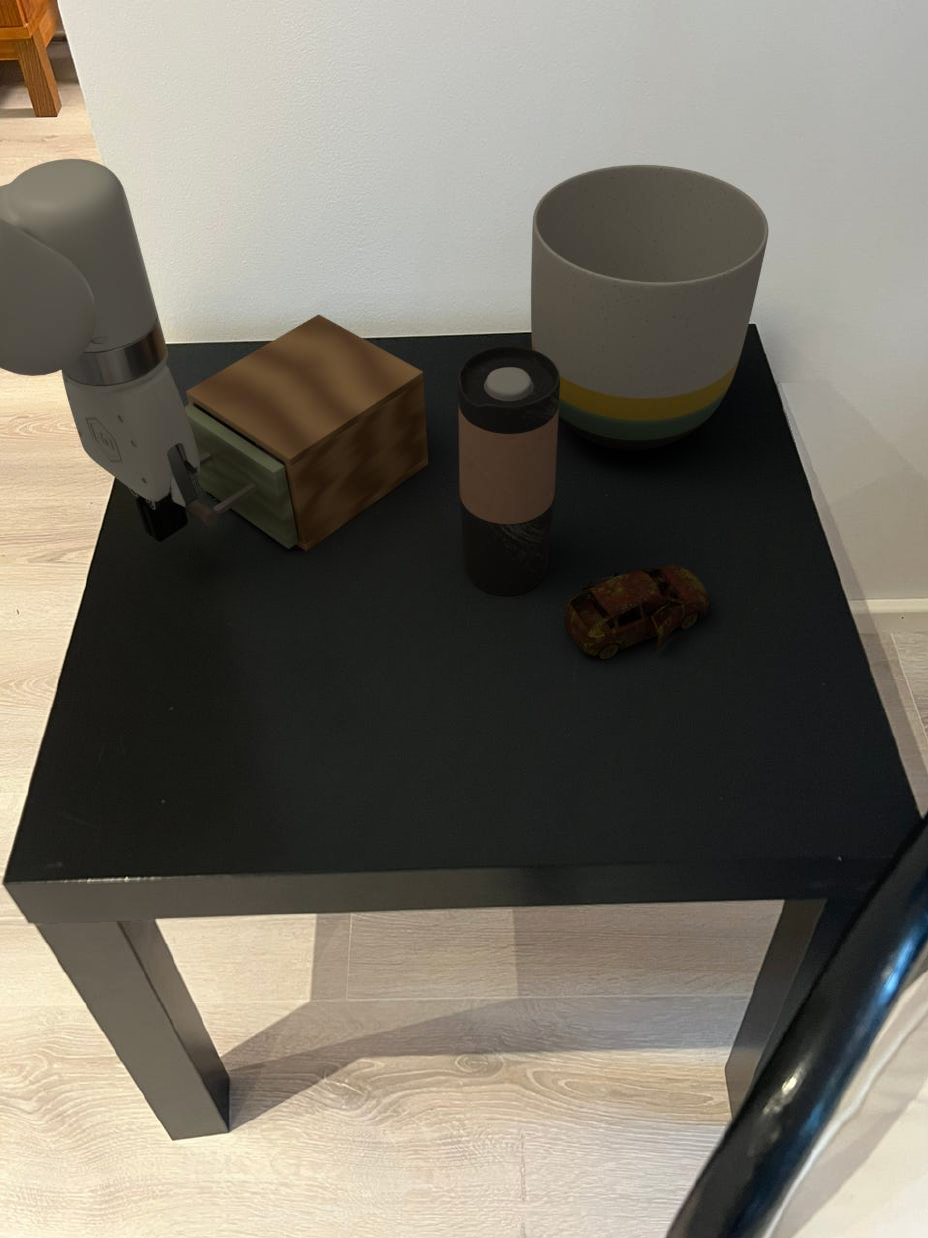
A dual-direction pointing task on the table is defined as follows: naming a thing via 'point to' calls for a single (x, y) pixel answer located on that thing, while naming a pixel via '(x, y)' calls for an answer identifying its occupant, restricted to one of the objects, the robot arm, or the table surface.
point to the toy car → (635, 609)
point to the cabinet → (325, 419)
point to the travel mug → (507, 466)
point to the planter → (643, 298)
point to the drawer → (240, 479)
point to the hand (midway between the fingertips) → (167, 528)
